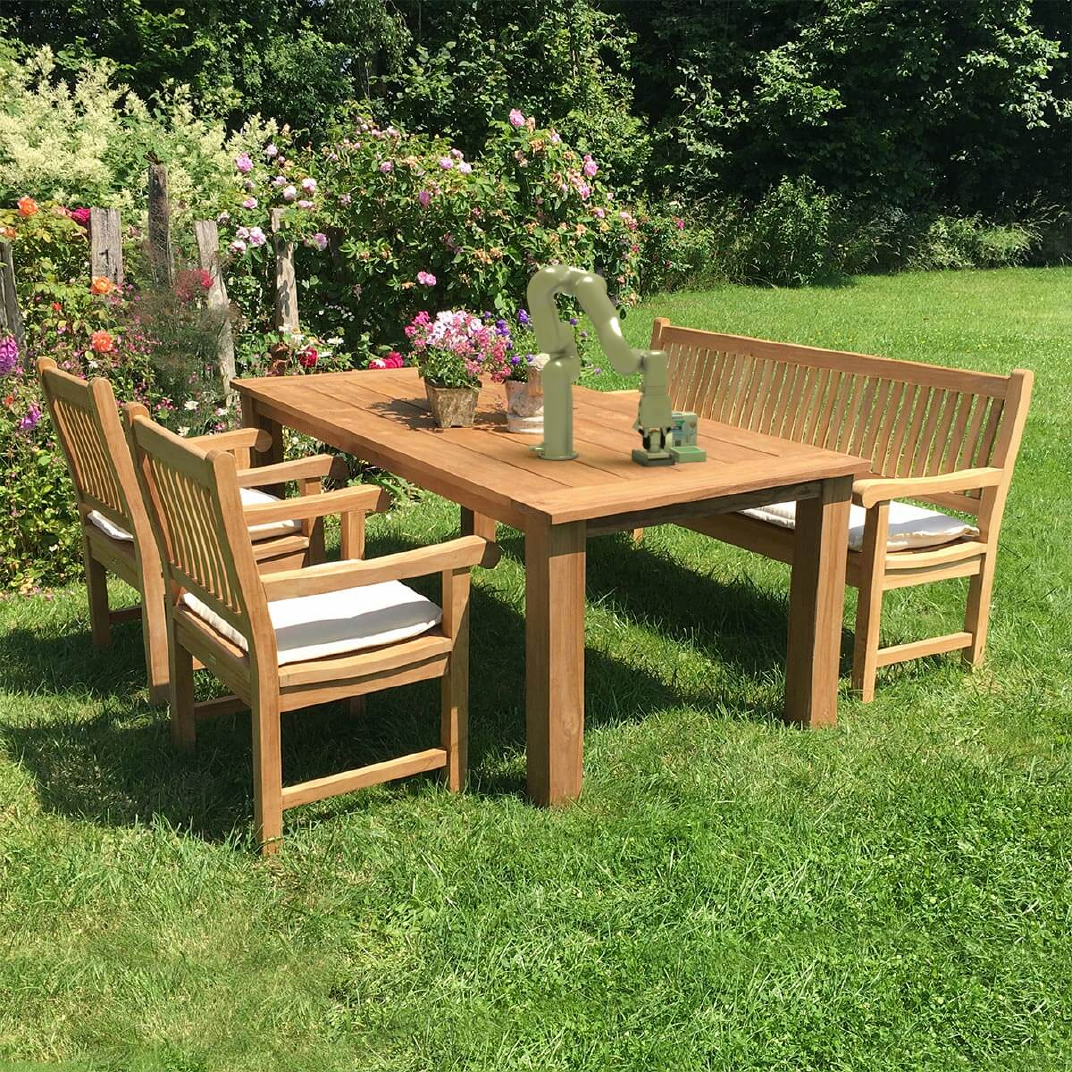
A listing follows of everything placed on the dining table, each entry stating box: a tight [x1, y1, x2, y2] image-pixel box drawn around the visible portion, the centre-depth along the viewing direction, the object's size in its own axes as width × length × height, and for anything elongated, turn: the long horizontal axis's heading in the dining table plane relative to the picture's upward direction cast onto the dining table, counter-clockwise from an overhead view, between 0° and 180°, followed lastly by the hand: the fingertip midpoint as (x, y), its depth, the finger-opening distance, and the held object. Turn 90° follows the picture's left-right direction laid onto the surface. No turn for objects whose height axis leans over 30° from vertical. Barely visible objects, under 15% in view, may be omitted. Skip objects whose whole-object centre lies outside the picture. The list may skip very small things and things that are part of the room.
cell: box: [647, 428, 661, 453], centre depth 375 cm, size 4×4×7 cm
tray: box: [669, 445, 707, 464], centre depth 380 cm, size 9×9×3 cm
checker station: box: [630, 448, 676, 468], centre depth 376 cm, size 10×12×3 cm
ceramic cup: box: [664, 432, 673, 451], centre depth 388 cm, size 7×7×7 cm
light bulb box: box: [670, 411, 699, 448], centre depth 401 cm, size 11×7×11 cm, turn 105°
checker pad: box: [637, 448, 669, 459], centre depth 376 cm, size 7×10×1 cm
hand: (653, 448), depth 375 cm, fingers closed on cell, 4 cm apart
